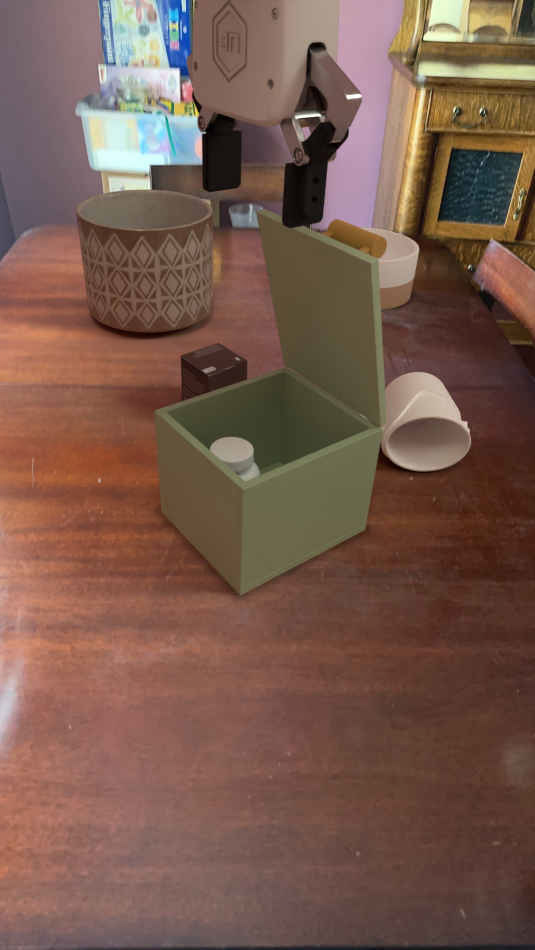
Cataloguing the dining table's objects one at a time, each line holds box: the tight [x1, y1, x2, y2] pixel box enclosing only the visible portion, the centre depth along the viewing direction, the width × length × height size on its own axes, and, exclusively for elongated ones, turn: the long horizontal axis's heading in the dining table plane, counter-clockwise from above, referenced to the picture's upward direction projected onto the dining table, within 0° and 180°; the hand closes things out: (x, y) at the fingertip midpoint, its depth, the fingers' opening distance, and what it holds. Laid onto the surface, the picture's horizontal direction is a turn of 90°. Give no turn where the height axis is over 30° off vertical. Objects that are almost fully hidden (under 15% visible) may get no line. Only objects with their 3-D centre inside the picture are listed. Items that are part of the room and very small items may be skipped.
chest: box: [153, 366, 383, 596], centre depth 65 cm, size 16×14×12 cm
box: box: [179, 342, 248, 401], centre depth 83 cm, size 6×6×7 cm
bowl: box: [323, 226, 420, 311], centre depth 116 cm, size 17×17×8 cm
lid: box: [255, 208, 387, 427], centre depth 60 cm, size 16×14×6 cm
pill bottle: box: [210, 437, 260, 482], centre depth 64 cm, size 5×5×10 cm
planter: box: [75, 189, 214, 333], centre depth 102 cm, size 19×19×16 cm
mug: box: [357, 371, 472, 472], centre depth 78 cm, size 12×9×8 cm
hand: (259, 205), depth 49 cm, fingers open, 9 cm apart
